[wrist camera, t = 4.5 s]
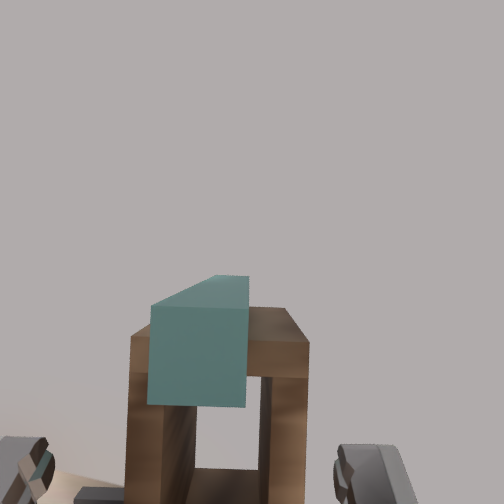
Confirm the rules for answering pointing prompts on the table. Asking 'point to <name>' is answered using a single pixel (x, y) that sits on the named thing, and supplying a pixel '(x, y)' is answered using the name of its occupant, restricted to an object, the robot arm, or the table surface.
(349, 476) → the robot arm
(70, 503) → the table surface
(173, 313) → the teal tile bar
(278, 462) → the walnut stand
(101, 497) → the domino
